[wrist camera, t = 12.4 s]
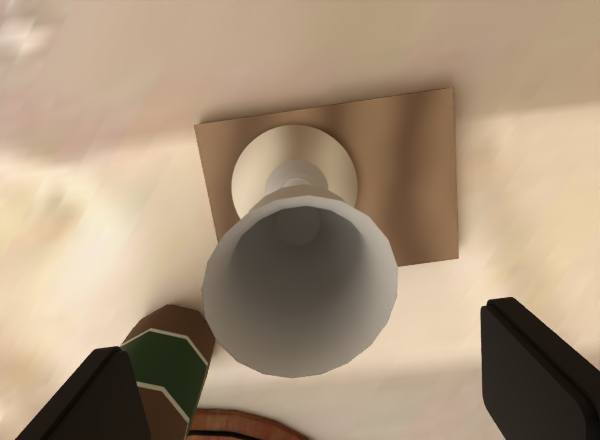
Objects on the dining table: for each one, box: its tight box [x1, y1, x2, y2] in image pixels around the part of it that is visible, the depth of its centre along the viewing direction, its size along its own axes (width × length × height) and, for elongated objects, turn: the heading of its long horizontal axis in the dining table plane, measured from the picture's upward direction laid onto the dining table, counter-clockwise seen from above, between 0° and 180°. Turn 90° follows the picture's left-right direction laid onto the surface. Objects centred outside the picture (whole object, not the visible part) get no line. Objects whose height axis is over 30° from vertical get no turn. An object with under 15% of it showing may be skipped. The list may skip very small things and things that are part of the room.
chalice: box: [202, 160, 398, 378], centre depth 23 cm, size 7×7×18 cm
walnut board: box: [194, 88, 459, 267], centre depth 33 cm, size 20×14×2 cm
